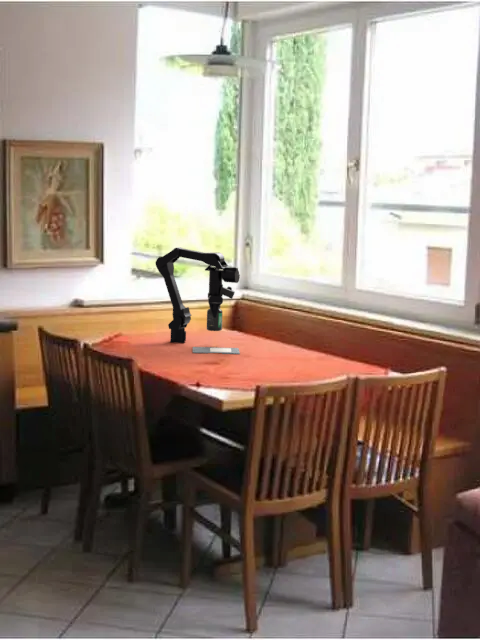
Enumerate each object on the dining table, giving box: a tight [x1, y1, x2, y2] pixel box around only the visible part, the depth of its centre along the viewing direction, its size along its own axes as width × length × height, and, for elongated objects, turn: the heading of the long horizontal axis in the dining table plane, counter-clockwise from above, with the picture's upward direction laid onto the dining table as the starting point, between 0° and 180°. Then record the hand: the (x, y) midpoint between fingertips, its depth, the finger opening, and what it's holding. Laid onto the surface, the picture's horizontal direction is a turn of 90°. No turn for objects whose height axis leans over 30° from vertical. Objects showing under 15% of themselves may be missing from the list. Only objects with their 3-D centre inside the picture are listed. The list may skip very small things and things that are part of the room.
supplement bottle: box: [206, 305, 223, 332], centre depth 419 cm, size 7×7×12 cm
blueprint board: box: [192, 346, 241, 355], centre depth 407 cm, size 20×13×1 cm, turn 92°
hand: (214, 316), depth 419 cm, fingers closed on supplement bottle, 7 cm apart
